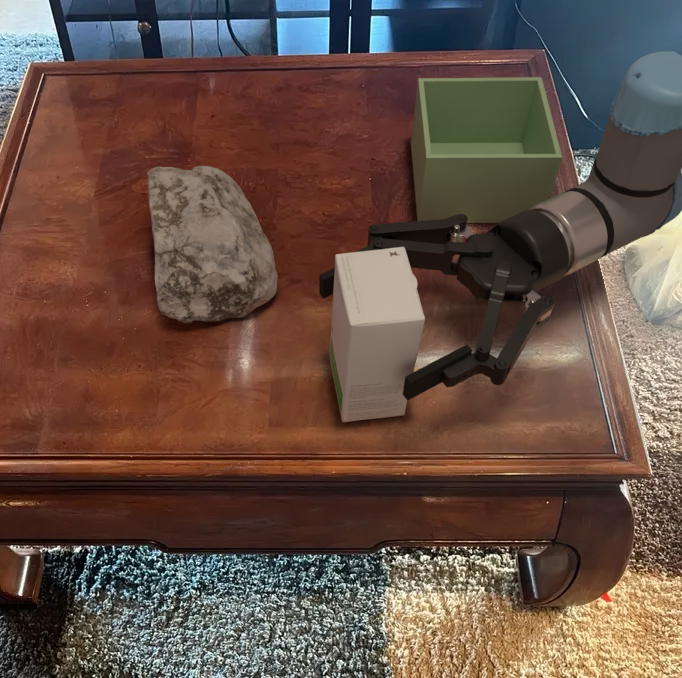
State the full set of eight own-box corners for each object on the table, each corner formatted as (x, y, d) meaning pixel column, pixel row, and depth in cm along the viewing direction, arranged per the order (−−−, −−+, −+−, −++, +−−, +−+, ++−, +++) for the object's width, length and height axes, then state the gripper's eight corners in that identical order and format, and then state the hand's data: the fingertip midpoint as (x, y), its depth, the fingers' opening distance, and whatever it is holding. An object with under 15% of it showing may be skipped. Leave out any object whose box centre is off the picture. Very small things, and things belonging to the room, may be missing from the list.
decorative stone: (136, 200, 95) (141, 139, 87) (247, 199, 99) (262, 140, 90) (154, 342, 86) (161, 289, 78) (276, 335, 89) (295, 284, 81)
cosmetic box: (328, 356, 82) (331, 249, 70) (393, 349, 82) (406, 241, 70) (341, 426, 77) (346, 324, 65) (410, 418, 77) (427, 316, 65)
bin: (542, 223, 92) (562, 157, 85) (417, 223, 93) (426, 157, 86) (525, 143, 101) (541, 77, 94) (410, 143, 102) (418, 78, 94)
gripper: (627, 354, 74) (441, 460, 69) (458, 198, 88) (291, 275, 82) (654, 302, 69) (453, 413, 63) (469, 143, 82) (289, 222, 76)
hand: (361, 335), depth 72 cm, fingers open, 13 cm apart
